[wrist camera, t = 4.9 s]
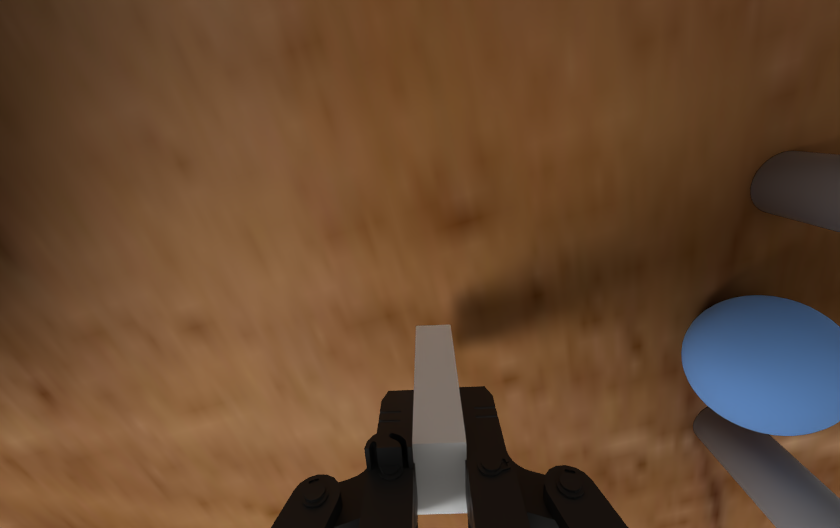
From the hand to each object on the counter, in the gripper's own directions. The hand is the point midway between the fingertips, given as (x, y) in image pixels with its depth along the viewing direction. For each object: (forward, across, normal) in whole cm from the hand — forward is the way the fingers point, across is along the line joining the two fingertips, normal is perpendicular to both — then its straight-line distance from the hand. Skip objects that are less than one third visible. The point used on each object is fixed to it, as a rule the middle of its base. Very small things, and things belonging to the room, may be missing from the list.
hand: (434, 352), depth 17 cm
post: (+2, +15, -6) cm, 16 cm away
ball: (-1, +14, -1) cm, 14 cm away
